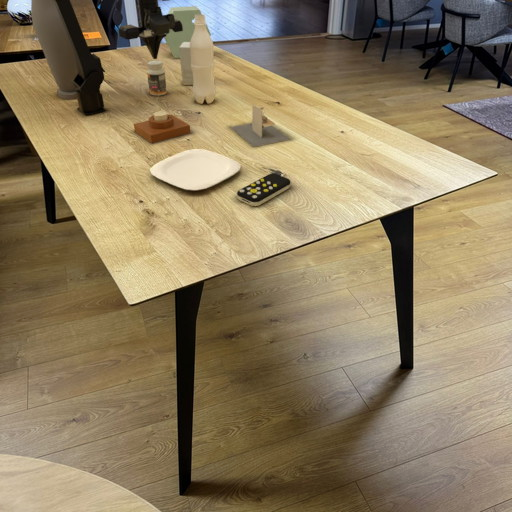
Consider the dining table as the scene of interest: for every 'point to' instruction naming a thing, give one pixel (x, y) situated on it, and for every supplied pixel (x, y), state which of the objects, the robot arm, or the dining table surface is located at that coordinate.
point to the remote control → (263, 189)
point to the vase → (55, 46)
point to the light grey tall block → (186, 63)
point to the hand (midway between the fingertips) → (155, 58)
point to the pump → (160, 116)
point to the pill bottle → (156, 78)
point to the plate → (195, 169)
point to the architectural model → (259, 130)
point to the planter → (186, 19)
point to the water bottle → (202, 62)
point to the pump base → (161, 128)
